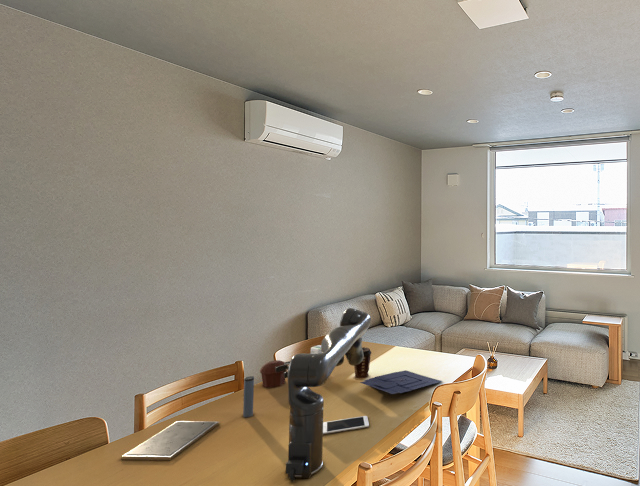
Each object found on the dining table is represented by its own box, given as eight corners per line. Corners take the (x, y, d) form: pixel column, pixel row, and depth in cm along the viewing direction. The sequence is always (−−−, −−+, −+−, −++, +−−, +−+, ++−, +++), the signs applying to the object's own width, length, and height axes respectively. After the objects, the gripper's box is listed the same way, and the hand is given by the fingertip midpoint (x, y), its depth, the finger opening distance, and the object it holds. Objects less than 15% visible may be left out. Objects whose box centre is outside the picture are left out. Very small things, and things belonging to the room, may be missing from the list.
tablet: (170, 460, 118) (170, 456, 118) (121, 459, 118) (121, 455, 119) (218, 424, 140) (218, 421, 140) (177, 423, 140) (177, 420, 140)
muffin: (289, 377, 185) (289, 356, 185) (287, 386, 174) (287, 364, 175) (261, 381, 180) (261, 359, 181) (257, 390, 170) (257, 367, 170)
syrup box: (309, 378, 184) (309, 347, 184) (319, 374, 189) (320, 344, 189) (317, 381, 181) (318, 349, 182) (327, 376, 186) (328, 346, 187)
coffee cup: (364, 372, 193) (364, 345, 193) (374, 376, 188) (375, 349, 188) (348, 377, 186) (349, 349, 187) (359, 381, 181) (359, 353, 181)
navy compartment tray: (355, 388, 170) (356, 379, 171) (404, 375, 194) (405, 368, 195) (395, 402, 156) (396, 393, 157) (442, 387, 181) (443, 379, 181)
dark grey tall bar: (249, 417, 146) (250, 379, 146) (241, 417, 146) (242, 379, 146) (254, 413, 149) (255, 376, 149) (246, 413, 149) (247, 376, 149)
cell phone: (320, 424, 141) (320, 422, 141) (367, 417, 146) (367, 415, 146) (320, 435, 133) (320, 433, 133) (369, 427, 139) (369, 425, 139)
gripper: (311, 350, 173) (272, 358, 161) (327, 357, 163) (287, 367, 151) (311, 367, 173) (272, 377, 161) (326, 375, 163) (287, 387, 151)
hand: (279, 372), depth 156 cm, fingers open, 8 cm apart
